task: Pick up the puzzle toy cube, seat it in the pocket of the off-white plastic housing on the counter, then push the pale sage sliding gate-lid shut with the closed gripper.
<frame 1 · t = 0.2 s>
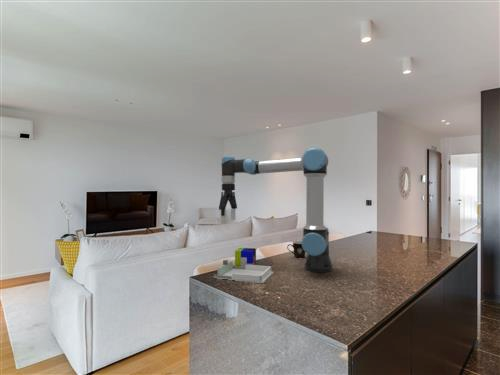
hand: (228, 220, 161), 27 cm above the worktop, fingers open, 13 cm apart
gate: (225, 266, 148), point 4 cm above the worktop, slide at 7.0 cm
puzzle toy: (245, 267, 162), on the worktop
housing: (252, 276, 143), on the worktop
coffee mug: (297, 258, 185), on the worktop
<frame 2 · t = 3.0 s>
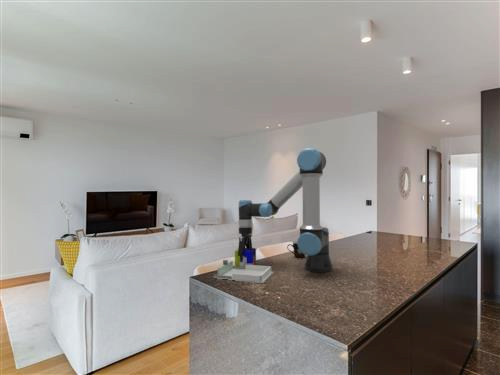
hand: (245, 265, 162), 1 cm above the worktop, fingers closed on puzzle toy, 10 cm apart
puzzle toy: (245, 267, 162), on the worktop, touching gripper
everything else where it was.
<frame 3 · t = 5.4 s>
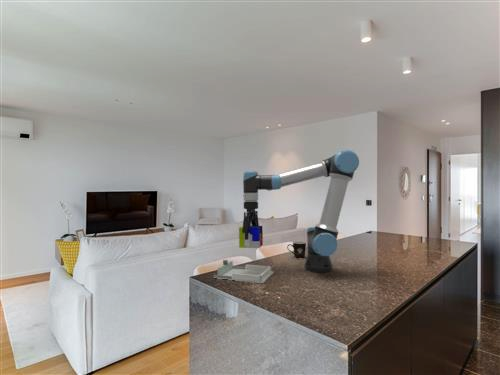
hand: (251, 244, 145), 16 cm above the worktop, fingers closed on puzzle toy, 10 cm apart
puzzle toy: (251, 246, 145), point 15 cm above the worktop, touching gripper
everything else where it was.
when the fingers open (4 cm above the worktop, at t = 8.0 s): puzzle toy drops 2 cm, resting on housing.
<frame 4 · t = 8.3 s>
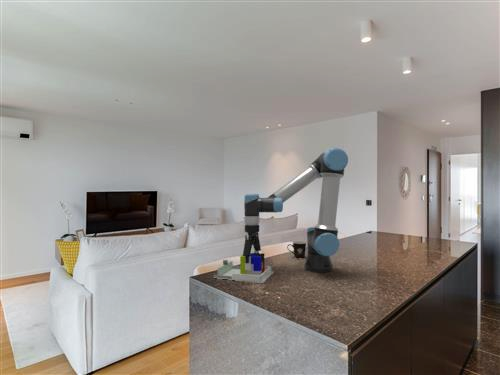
hand: (252, 266, 143), 5 cm above the worktop, fingers open, 13 cm apart
puzzle toy: (252, 275, 143), point 1 cm above the worktop, touching housing
everything else where it was.
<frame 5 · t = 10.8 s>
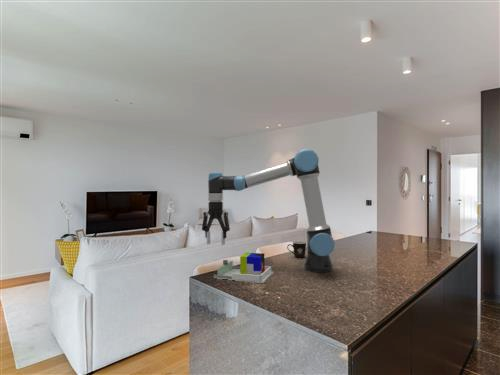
hand: (215, 244, 150), 15 cm above the worktop, fingers open, 8 cm apart
nothing on the worktop moved.
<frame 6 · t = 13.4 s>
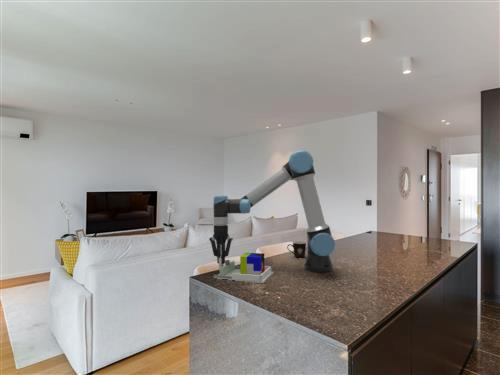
hand: (221, 269, 149), 2 cm above the worktop, fingers closed
gate: (227, 266, 148), point 4 cm above the worktop, slide at 5.8 cm, touching gripper
everything else where it was.
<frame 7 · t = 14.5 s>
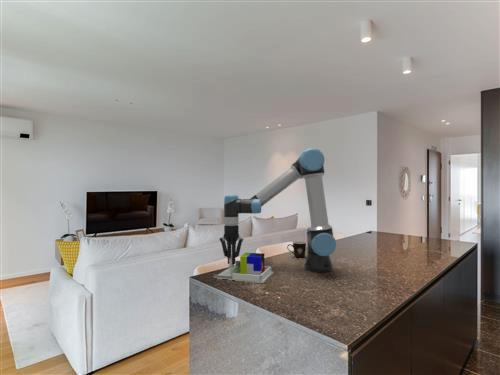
hand: (231, 270, 147), 2 cm above the worktop, fingers closed
gate: (237, 267, 146), point 4 cm above the worktop, slide at -0.1 cm, touching gripper
everything else where it was.
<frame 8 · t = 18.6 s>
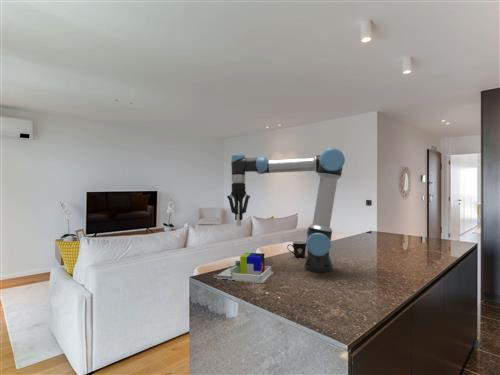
hand: (238, 226, 154), 24 cm above the worktop, fingers closed
gate: (237, 267, 146), point 4 cm above the worktop, slide at 0.0 cm
everything else where it was.
at the end: puzzle toy inside the target area on the housing (0.7 cm from its centre), point 0.6 cm above the housing's base; gate slide at 0.0 cm; the gripper is holding nothing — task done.
